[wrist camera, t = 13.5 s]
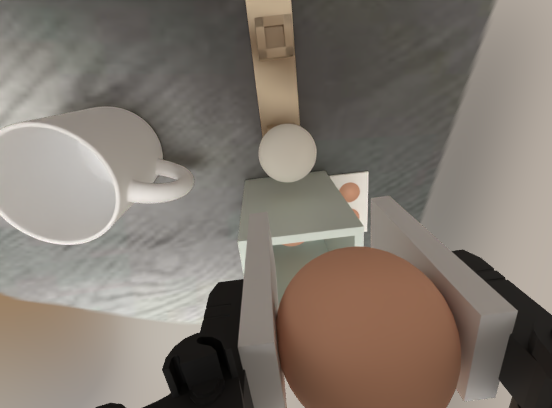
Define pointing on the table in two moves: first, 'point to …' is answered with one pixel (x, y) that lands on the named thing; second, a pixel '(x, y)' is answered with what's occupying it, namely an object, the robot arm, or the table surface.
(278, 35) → the rack
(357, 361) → the ball
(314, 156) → the ball
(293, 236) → the grey-green tall hollow box
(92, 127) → the mug
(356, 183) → the card
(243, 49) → the table surface
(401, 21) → the table surface
